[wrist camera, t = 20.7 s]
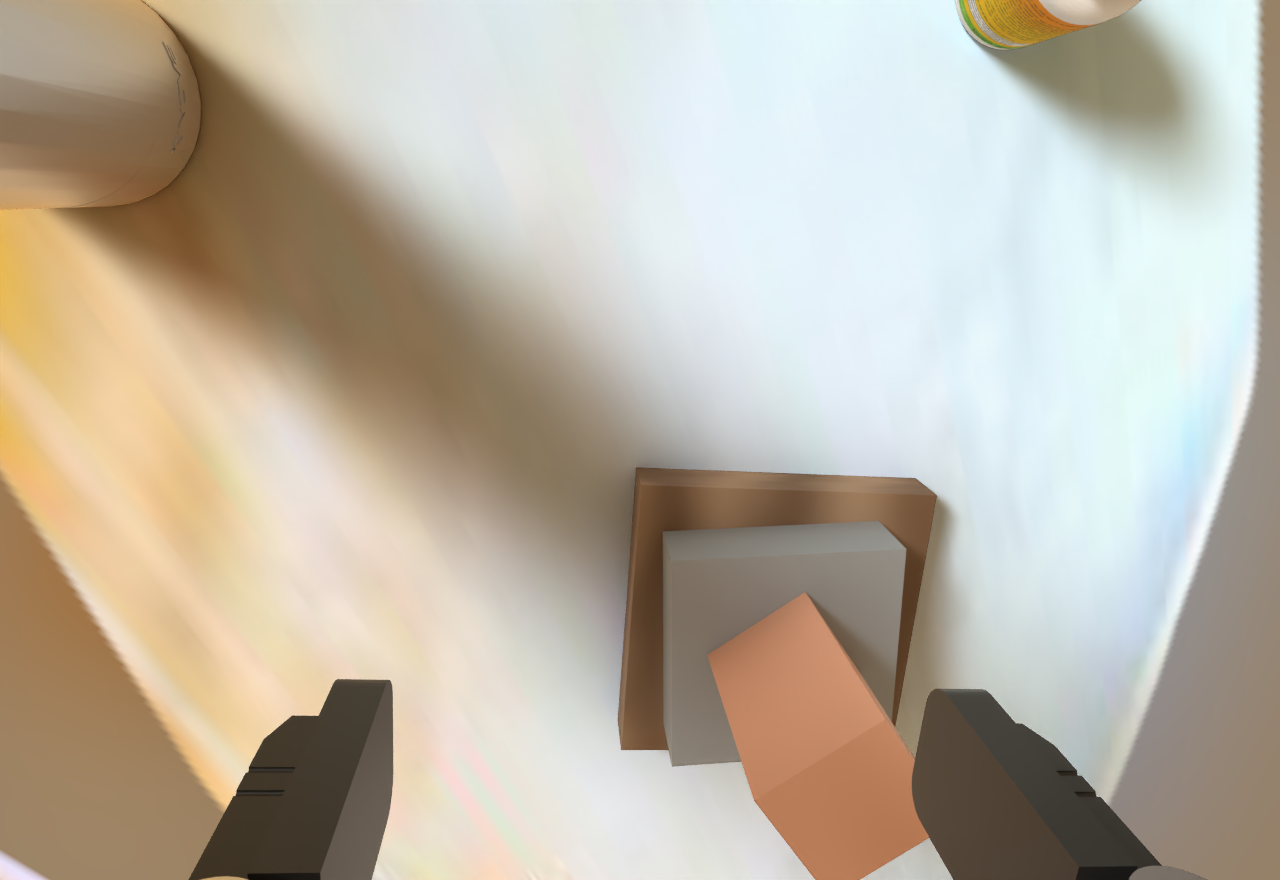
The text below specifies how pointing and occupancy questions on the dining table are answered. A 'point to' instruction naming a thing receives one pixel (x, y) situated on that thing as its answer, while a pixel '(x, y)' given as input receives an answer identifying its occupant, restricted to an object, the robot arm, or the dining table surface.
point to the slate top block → (770, 612)
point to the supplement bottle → (1033, 19)
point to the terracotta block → (817, 745)
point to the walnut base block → (739, 504)
